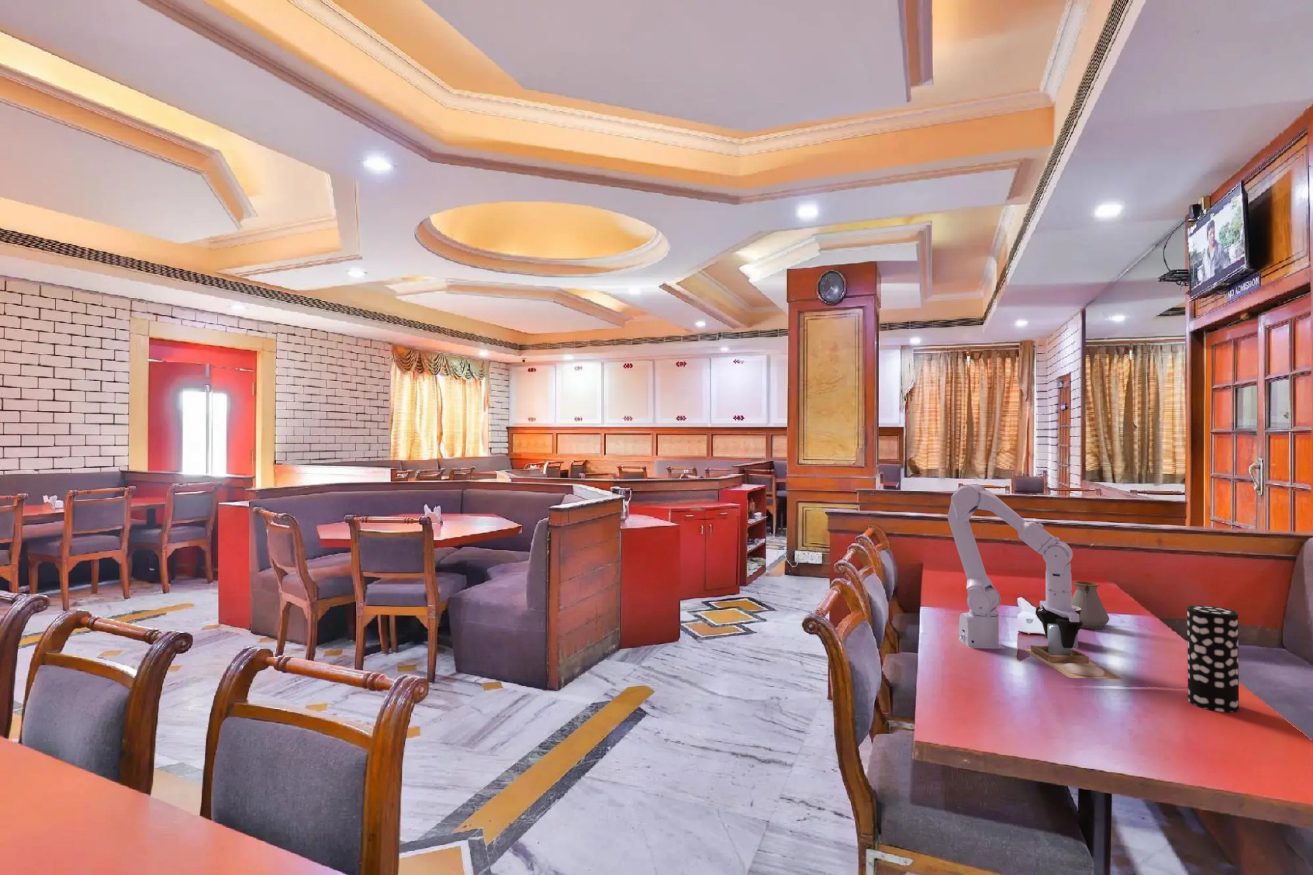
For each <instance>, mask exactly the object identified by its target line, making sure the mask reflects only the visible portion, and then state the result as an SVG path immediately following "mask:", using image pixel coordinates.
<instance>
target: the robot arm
mask: <svg viewBox="0 0 1313 875" xmlns="http://www.w3.org/2000/svg"><path fill="white" fill-rule="evenodd" d="M950 499H951V500H950V506H949V510H948V513H947V521H948V523H949V527H950V529H951V533H952V537H953V540H954V542H955V547H956V550H957V553H958V555H959V558H960V561H961V565H962V569H963V571H964V574H965V577H966V581H967V582H966V591H967V599H966V604H967V606H968V608H969V609H968V610H969V611H967V612H962V613H960V615H959V620H958V628H959V629H958V632H959V633H958V636H959V637H958V641H959V642H960V643H962V644H963V645H965V646H966V647H968V648H969V649H1006V647H1004V646H1003V645H1001V644H1000V638H999V637H1000V635H999V634H1000V632H999V631H1000V628H999V627H1000V626H999V625H1000V624H999V620H1000V617H999V611H998V609H997V607H998V606H999V605H1000V602H1001V596H1000V592H999V591H998V590H997V589H996V588H995V586H994V585H993V582H992V580H991V579H990V578H989V576H988V575H987V573H986V572H987V571H986V569H985V567H984V564H983V560H982V556H981V554H980V551H979V548H978V545H977V542H976V538H975V535H974V532H973V529H972V526H971V523H970V518H971V517H972V516H973V514H974V513H975V512H976V510H982V511H988V512H991V513H993V514H994V515H995V516H997V517H999V518H1000V519H1001V520H1002V521H1004V522H1005V523H1007V524H1008V525H1009V526H1011V527H1012V528H1013V529H1015V530H1016V531H1017V535H1018V536H1017V537H1018V539H1020V540H1022V542H1024V543H1025V544H1026V545H1028V546H1029V547H1030V548H1031V549H1032V550H1034V551H1035V552H1036V553H1038V554H1039V555H1042V559H1043V561H1044V562H1045V600H1039V607H1040V610H1038V611H1037V614H1038V616H1039V618H1040V620H1041V621H1040V620H1039V621H1040V622H1041V624H1042V627H1043V632H1044V635H1045V639H1046V640H1048V626H1047V624H1049V623H1057V624H1058V626H1059V629H1060V633H1061V641H1062V646H1063V648H1073V645H1074V641H1075V638H1076V635H1077V633H1078V634H1079V631H1080V629H1081V628H1082V627H1081V626H1082V625H1083V622H1081V621H1079V614H1077V613H1076V612H1075V611H1076V608H1075V607H1072V597H1073V595H1072V591H1073V589H1072V586H1073V585H1072V584H1073V582H1072V580H1073V579H1072V578H1073V577H1072V572H1071V571H1072V566H1071V560H1072V559H1073V556H1074V552H1073V550H1072V548H1071V546H1069V545H1068V543H1067V542H1065V541H1060V540H1061V539H1060V538H1059V537H1058V536H1056V537H1055V536H1054V535H1052V534H1051V533H1050V532H1048V531H1047V530H1046V529H1045V528H1044V524H1042V523H1041V522H1038V523H1037V522H1035V521H1027V520H1025V519H1024V518H1023V517H1021V515H1019V514H1018V513H1017V512H1016V511H1014V510H1013V509H1012V508H1011V507H1010V506H1008V505H1007V504H1006V503H1005V502H1003V500H1001V499H1000V498H999V497H998V496H996V495H995V494H994V493H993V492H992V491H990V490H988V489H986V488H985V487H984V486H983V485H981V484H978V483H971V484H969V485H967V484H966V485H962V486H959V487H957V489H956V490H955V491H954V492H953V494H952V495H951V496H950ZM1060 616H1062V617H1064V619H1060ZM1073 649H1074V648H1073Z"/></svg>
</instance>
